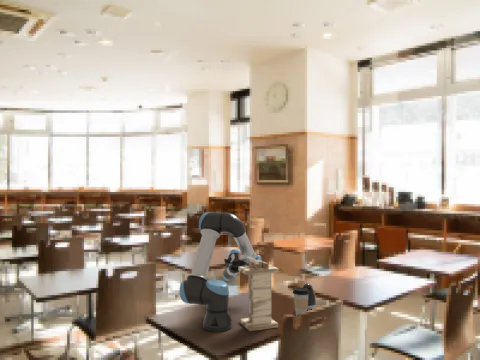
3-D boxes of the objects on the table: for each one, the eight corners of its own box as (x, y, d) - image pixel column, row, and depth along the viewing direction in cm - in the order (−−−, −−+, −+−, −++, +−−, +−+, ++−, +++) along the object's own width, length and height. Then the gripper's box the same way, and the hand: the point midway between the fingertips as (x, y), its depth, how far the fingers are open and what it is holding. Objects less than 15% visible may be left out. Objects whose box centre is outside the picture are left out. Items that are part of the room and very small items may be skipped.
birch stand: (280, 327, 211) (279, 263, 211) (247, 331, 204) (247, 265, 205) (268, 318, 224) (268, 258, 224) (238, 322, 218) (238, 260, 218)
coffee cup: (307, 313, 234) (307, 287, 234) (311, 318, 224) (311, 291, 225) (291, 313, 233) (291, 287, 234) (294, 318, 224) (294, 291, 224)
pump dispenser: (303, 312, 235) (303, 286, 235) (296, 307, 245) (296, 282, 245) (319, 311, 238) (319, 285, 238) (311, 306, 248) (311, 281, 248)
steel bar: (262, 267, 214) (262, 261, 214) (256, 268, 213) (256, 262, 213) (243, 258, 241) (243, 253, 241) (238, 259, 239) (238, 253, 240)
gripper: (254, 272, 254) (265, 260, 237) (215, 275, 245) (225, 262, 228) (251, 260, 257) (263, 248, 240) (214, 263, 249) (223, 250, 232)
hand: (244, 255), depth 234 cm, fingers open, 13 cm apart
